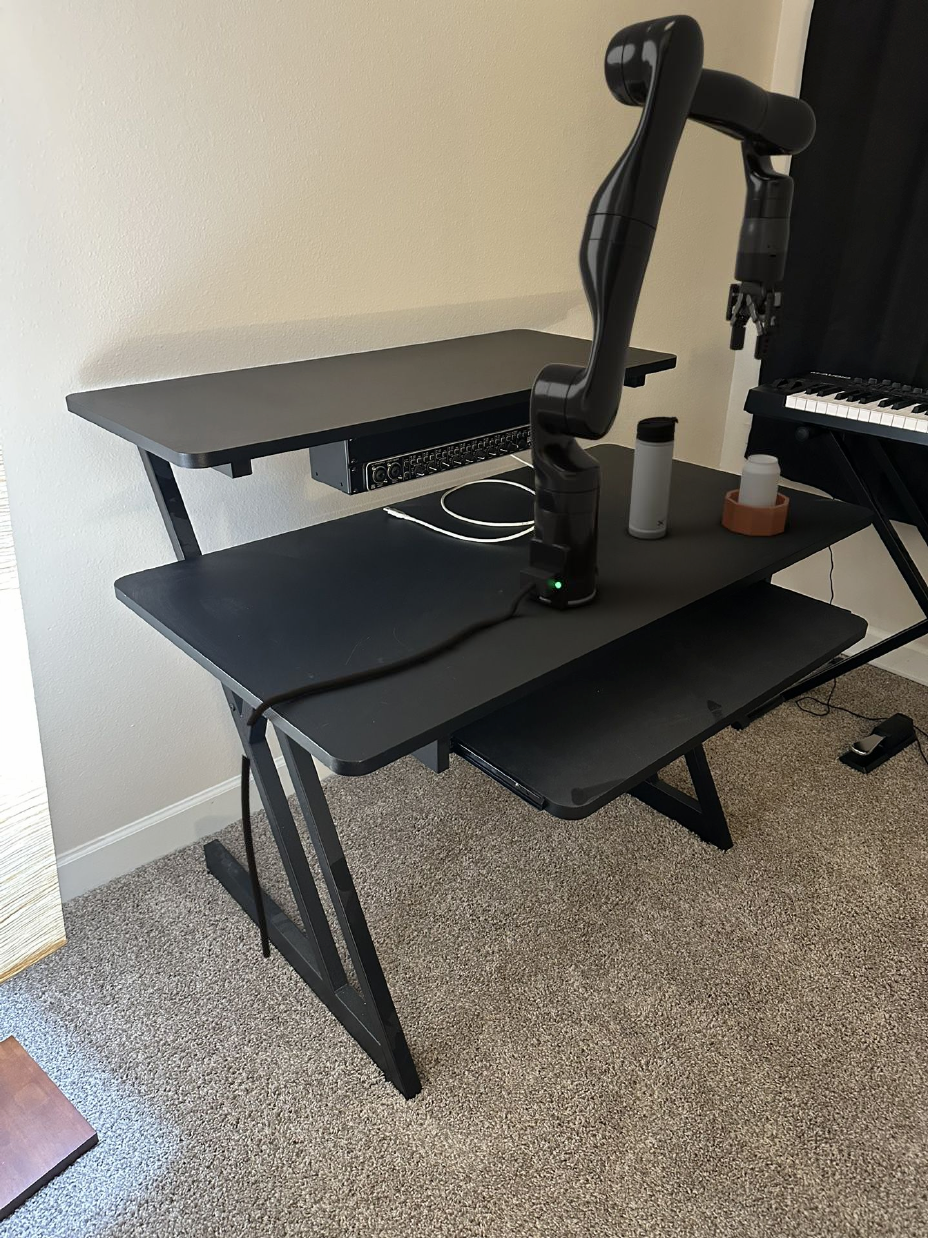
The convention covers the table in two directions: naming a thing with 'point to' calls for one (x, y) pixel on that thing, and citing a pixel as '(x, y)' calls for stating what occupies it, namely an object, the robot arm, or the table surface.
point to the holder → (754, 516)
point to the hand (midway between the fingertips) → (748, 354)
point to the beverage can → (759, 481)
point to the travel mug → (651, 477)
